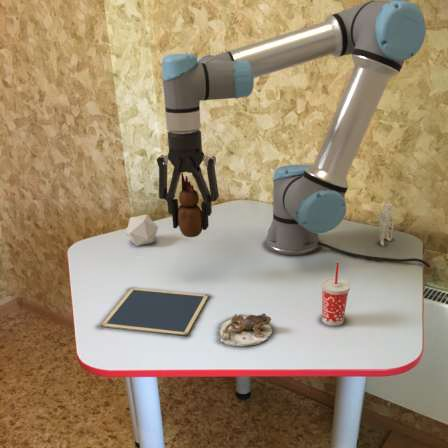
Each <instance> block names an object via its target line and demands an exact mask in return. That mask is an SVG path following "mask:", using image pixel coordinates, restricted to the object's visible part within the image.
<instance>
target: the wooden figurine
mask: <svg viewBox="0 0 448 448" xmlns="http://www.w3.org/2000/svg"><path fill="white" fill-rule="evenodd" d="M180 178H181V191H180V192H179V195H178V203H179V204H180V206H178V212H177V217H178V224H179V226H178V228H179V230H180V232H181V235H183V236H184V237H186V238H197V237H198V236H199V235H200V234H202V231H203V226H202V210H201V207H200V206H199V205H198V204H199V200H200V197H199V193H198V191H197V190H195V187H194V185H193V184H191V183H192V182H191V181H190V180H189V179H188V176H187V175H186V176H184V172H183V173H181V175H180Z"/></svg>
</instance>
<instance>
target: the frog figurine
mask: <svg viewBox="0 0 448 448" xmlns="http://www.w3.org/2000/svg"><path fill="white" fill-rule="evenodd" d="M271 320H272V318H271V316H268V315H267V314H266V313H261V314H258V315H255V314H249V315H247V316H244V315H242V314H238V315H237V313H235V314H234V315H233V316H232V317H231V318H230V319H228V320H227V321H224V322H223V323H221V324H220V325H219V332H220V339H219V340H220V342H222V343H223V344H225V345H228V346H232V347H241V348H242V347H243V348H245V347H251V346H257V345H258V344H261V343H263V342H265V341H267V339H268V338H269V337H271V335H272V334H273V329H272V326H271V325H270V323H271Z"/></svg>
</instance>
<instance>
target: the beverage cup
mask: <svg viewBox="0 0 448 448" xmlns="http://www.w3.org/2000/svg"><path fill="white" fill-rule="evenodd" d="M335 264H336V265H335V276H334V277H330V278H327V279H324V280H322V281H321V285H320V287H321V290H322V291H321V292H322V293H321V295H322V297H321V298H322V300H321V301H322V302H321V303H322V305H321V308H322V309H321V311H322V312H321V314H322V315H321V317H322V319H321V320H322V322H323V324H325V325H326V326H330V327H331V326H332V327H337V326H340V325H342V324H343V323H344V320H345V314H346V307H347V303H348V302H347V301H348V295H349V292H350V291H351V283H350V282H349V281H347V280H346V279H342V278H339V277H338V275H339V264H340V262H336V263H335Z"/></svg>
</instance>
